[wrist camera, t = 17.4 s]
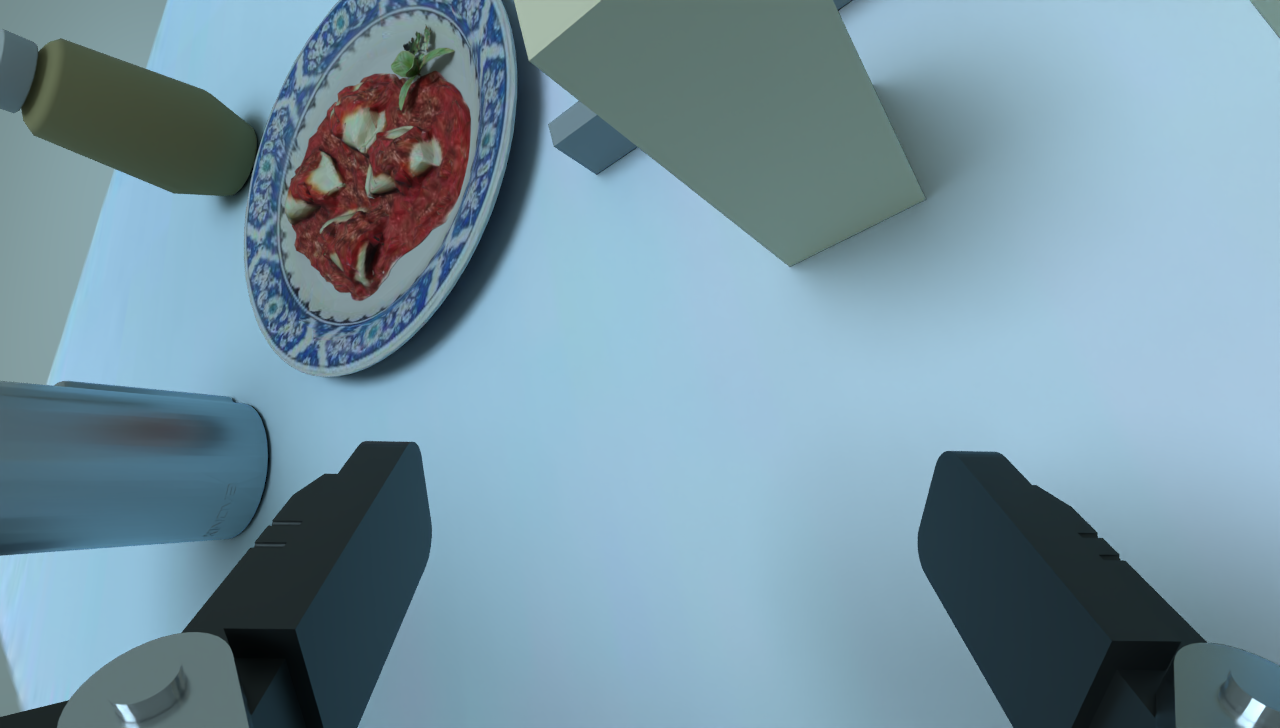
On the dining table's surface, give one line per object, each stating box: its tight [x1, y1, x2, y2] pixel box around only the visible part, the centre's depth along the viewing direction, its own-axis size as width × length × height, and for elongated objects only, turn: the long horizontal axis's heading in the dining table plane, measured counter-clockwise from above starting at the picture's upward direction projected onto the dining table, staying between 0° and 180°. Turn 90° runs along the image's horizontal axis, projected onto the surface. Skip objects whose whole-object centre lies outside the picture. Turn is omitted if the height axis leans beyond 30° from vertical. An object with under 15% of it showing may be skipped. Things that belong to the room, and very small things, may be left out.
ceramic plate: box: [244, 0, 517, 377], centre depth 38 cm, size 26×26×3 cm
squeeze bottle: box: [0, 29, 257, 196], centre depth 43 cm, size 8×8×18 cm
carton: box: [514, 0, 926, 267], centre depth 17 cm, size 5×5×14 cm
